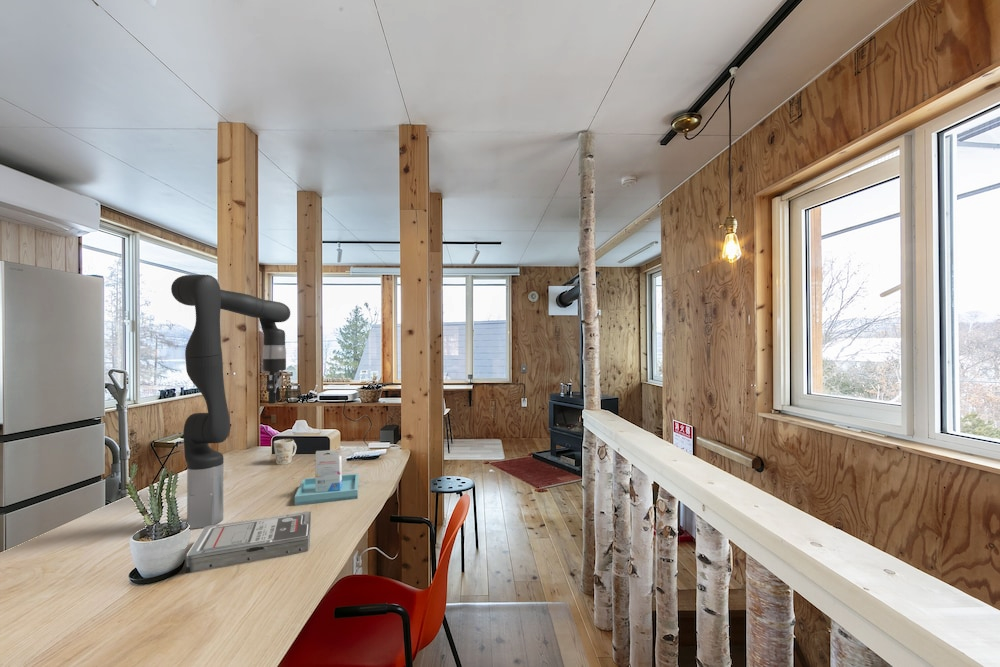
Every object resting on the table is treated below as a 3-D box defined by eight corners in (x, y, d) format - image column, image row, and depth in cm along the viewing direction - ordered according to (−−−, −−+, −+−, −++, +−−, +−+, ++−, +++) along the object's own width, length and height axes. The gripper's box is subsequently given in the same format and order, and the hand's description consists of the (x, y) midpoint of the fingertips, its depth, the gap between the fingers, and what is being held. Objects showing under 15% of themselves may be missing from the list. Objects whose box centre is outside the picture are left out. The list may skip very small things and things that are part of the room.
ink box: (342, 486, 161) (342, 446, 161) (340, 490, 156) (339, 449, 157) (318, 488, 160) (317, 447, 160) (315, 492, 155) (314, 451, 155)
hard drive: (204, 542, 120) (204, 526, 120) (310, 525, 130) (310, 510, 130) (184, 575, 103) (184, 556, 103) (309, 553, 113) (309, 535, 113)
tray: (357, 498, 151) (357, 489, 151) (294, 505, 145) (294, 496, 145) (358, 481, 170) (358, 473, 170) (302, 486, 164) (302, 478, 164)
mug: (269, 465, 194) (269, 442, 195) (287, 457, 207) (287, 436, 207) (286, 465, 193) (286, 443, 193) (303, 458, 205) (303, 437, 206)
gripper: (282, 358, 153) (282, 404, 153) (289, 356, 167) (289, 399, 166) (258, 358, 151) (258, 405, 151) (267, 357, 165) (267, 400, 164)
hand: (274, 401), depth 158 cm, fingers open, 8 cm apart
